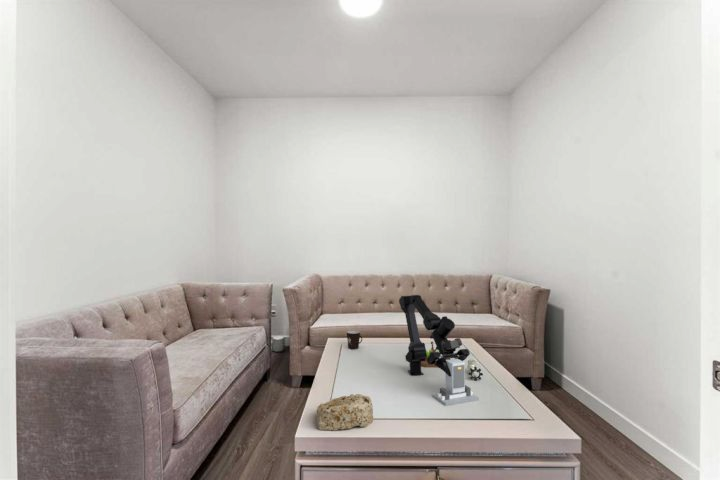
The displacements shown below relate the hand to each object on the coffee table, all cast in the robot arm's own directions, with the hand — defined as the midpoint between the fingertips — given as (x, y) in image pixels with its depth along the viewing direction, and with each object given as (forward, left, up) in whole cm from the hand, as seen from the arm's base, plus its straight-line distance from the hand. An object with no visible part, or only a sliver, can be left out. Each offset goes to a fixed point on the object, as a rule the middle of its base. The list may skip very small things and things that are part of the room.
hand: (456, 375), depth 151 cm
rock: (+12, -48, -10) cm, 51 cm away
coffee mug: (-83, -31, -10) cm, 90 cm away
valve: (-25, +19, -10) cm, 33 cm away
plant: (-50, +8, -11) cm, 51 cm away
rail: (-1, 0, -10) cm, 10 cm away
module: (-1, 0, -7) cm, 7 cm away
